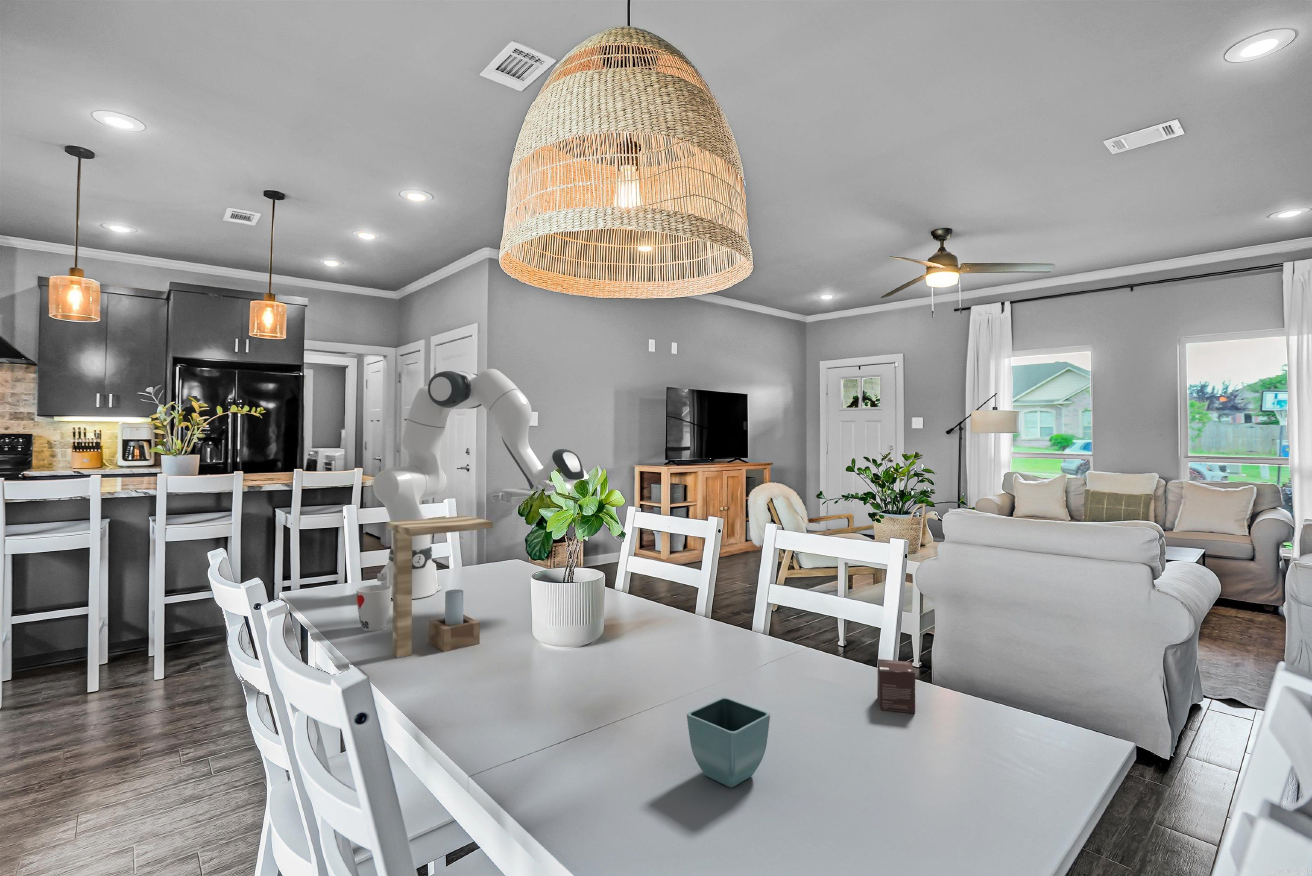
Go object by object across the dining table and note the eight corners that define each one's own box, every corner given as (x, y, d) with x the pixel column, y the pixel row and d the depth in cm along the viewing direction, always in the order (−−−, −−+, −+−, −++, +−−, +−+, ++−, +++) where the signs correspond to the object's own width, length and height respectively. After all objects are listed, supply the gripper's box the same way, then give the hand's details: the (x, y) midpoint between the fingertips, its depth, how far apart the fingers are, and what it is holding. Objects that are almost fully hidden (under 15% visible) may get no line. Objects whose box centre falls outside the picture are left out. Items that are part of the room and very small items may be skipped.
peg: (442, 642, 149) (442, 591, 149) (458, 639, 152) (458, 588, 152) (449, 647, 146) (449, 594, 146) (466, 643, 149) (466, 591, 149)
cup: (356, 625, 162) (356, 586, 162) (390, 622, 166) (391, 583, 166) (356, 634, 155) (356, 593, 155) (392, 630, 158) (392, 590, 158)
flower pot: (684, 775, 92) (684, 712, 92) (723, 754, 98) (724, 695, 98) (732, 800, 85) (733, 733, 85) (771, 776, 92) (771, 713, 92)
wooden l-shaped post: (383, 648, 145) (384, 522, 145) (464, 631, 158) (465, 515, 158) (407, 664, 135) (408, 529, 135) (492, 645, 148) (492, 521, 148)
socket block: (428, 642, 149) (428, 621, 149) (463, 635, 155) (463, 614, 155) (444, 651, 143) (444, 629, 143) (479, 643, 149) (479, 622, 149)
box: (911, 701, 118) (912, 661, 118) (915, 714, 112) (916, 673, 112) (876, 697, 120) (877, 658, 120) (879, 710, 114) (879, 669, 114)
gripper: (527, 482, 181) (482, 484, 171) (568, 487, 165) (521, 489, 156) (527, 505, 181) (482, 508, 171) (568, 511, 165) (521, 515, 156)
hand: (501, 499), depth 164 cm, fingers open, 8 cm apart
